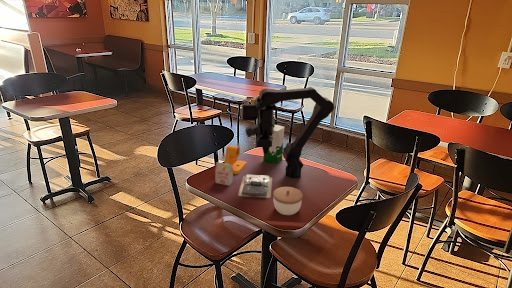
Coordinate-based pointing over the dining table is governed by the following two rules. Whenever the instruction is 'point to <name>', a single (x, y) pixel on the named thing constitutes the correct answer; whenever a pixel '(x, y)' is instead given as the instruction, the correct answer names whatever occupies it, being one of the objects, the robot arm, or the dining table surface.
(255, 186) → the loose leaf
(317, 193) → the dining table surface
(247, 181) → the fixed leaf
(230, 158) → the bracket
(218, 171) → the white printed packet
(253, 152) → the dining table surface
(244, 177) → the mounting board
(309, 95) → the robot arm
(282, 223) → the dining table surface
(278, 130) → the milk carton
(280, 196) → the lidded jar
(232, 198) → the dining table surface
